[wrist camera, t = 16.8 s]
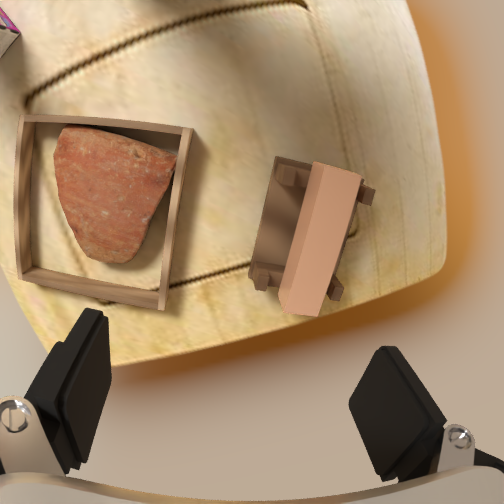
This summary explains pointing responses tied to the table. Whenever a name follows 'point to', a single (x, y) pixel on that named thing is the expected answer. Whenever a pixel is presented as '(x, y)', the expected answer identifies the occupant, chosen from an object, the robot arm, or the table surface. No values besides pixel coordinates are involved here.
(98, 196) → the ceramic shard
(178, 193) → the low wooden frame
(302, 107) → the table surface
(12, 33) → the candy bar box
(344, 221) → the tan pink long block
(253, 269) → the rack
